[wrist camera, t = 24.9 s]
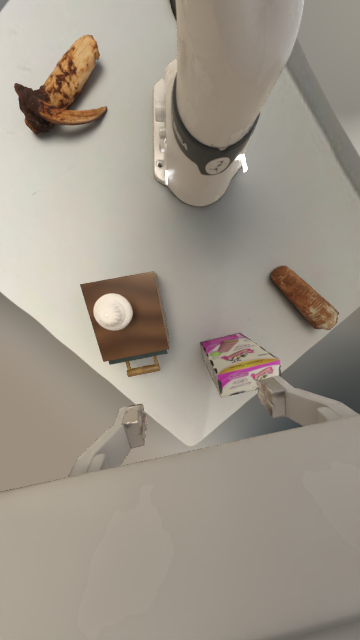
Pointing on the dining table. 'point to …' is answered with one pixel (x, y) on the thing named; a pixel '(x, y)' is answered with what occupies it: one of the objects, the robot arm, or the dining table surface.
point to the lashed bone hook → (61, 90)
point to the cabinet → (146, 322)
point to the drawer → (144, 369)
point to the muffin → (113, 311)
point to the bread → (305, 299)
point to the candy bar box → (238, 364)
